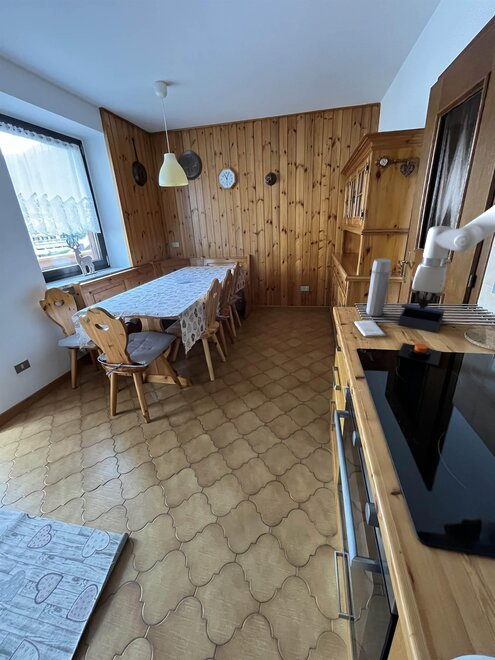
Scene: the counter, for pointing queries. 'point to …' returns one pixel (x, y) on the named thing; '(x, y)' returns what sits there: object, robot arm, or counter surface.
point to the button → (421, 348)
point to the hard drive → (369, 328)
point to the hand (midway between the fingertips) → (422, 307)
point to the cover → (428, 309)
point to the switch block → (420, 355)
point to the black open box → (420, 320)
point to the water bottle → (378, 287)
